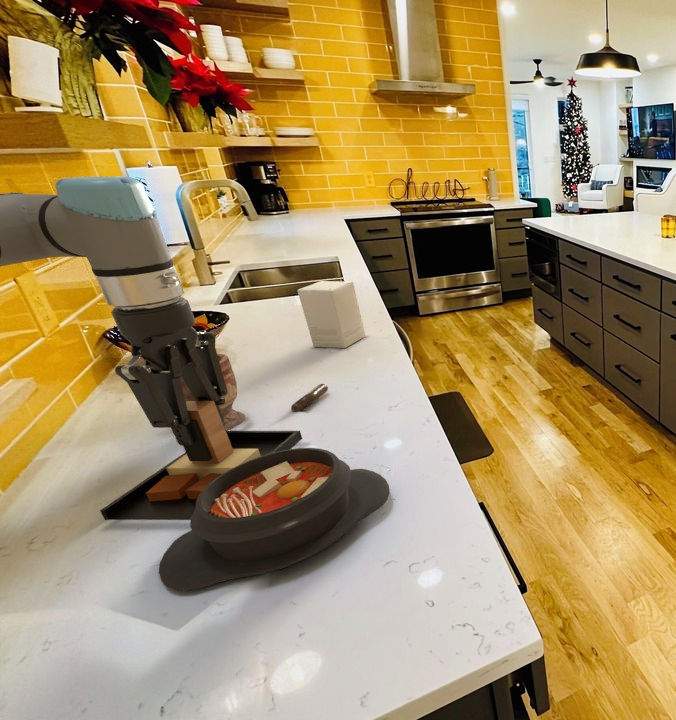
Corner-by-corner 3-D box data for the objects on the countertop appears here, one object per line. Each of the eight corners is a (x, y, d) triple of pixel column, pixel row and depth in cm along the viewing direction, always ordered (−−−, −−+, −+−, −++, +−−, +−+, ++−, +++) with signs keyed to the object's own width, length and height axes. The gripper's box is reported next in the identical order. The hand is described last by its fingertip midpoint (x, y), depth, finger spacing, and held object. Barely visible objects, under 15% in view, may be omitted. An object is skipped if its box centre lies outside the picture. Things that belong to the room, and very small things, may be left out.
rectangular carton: (367, 336, 133) (354, 281, 127) (345, 348, 125) (331, 290, 119) (335, 334, 134) (321, 280, 128) (312, 347, 126) (295, 289, 120)
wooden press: (171, 481, 74) (141, 414, 69) (198, 461, 78) (171, 397, 74) (240, 481, 74) (213, 414, 69) (263, 461, 79) (239, 397, 74)
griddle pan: (108, 526, 67) (99, 510, 66) (292, 393, 103) (289, 381, 102) (212, 526, 67) (205, 510, 66) (360, 393, 103) (357, 381, 102)
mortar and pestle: (166, 454, 82) (116, 341, 74) (169, 432, 89) (123, 326, 81) (252, 430, 89) (214, 325, 81) (249, 412, 95) (213, 312, 87)
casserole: (170, 637, 52) (137, 577, 49) (160, 542, 64) (134, 489, 61) (412, 521, 68) (401, 470, 64) (367, 463, 80) (355, 418, 77)
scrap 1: (149, 501, 70) (145, 493, 69) (169, 484, 73) (165, 475, 73) (181, 498, 70) (177, 490, 70) (199, 481, 74) (196, 473, 73)
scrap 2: (188, 498, 70) (184, 490, 70) (213, 481, 74) (210, 472, 73) (214, 500, 70) (211, 492, 69) (238, 482, 74) (235, 474, 73)
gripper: (120, 322, 58) (192, 486, 67) (224, 285, 73) (271, 424, 82) (54, 322, 58) (136, 486, 67) (172, 285, 73) (225, 424, 82)
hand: (210, 452), depth 75 cm, fingers closed on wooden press, 3 cm apart
